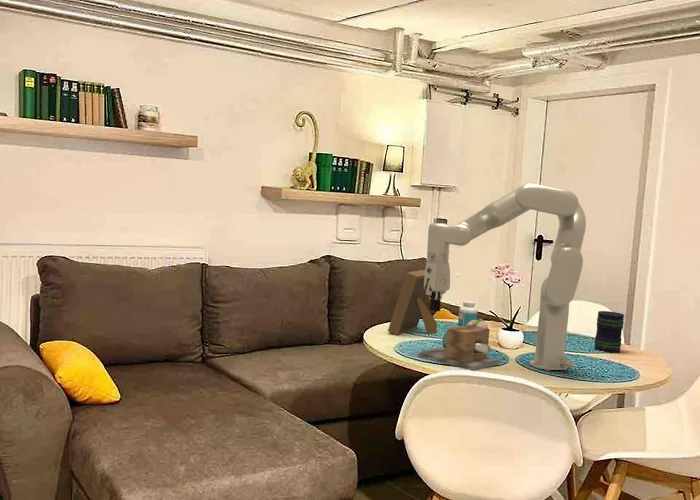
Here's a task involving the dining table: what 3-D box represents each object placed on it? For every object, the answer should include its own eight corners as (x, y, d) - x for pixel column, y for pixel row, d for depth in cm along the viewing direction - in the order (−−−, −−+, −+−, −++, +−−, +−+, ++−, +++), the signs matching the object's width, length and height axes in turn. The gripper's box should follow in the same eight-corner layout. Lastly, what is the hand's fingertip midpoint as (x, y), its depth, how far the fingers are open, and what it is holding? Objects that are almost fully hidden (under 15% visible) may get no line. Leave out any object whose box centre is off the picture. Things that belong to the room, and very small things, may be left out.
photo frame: (387, 333, 277) (393, 270, 275) (407, 326, 296) (413, 267, 294) (422, 340, 270) (429, 275, 268) (440, 332, 290) (447, 272, 288)
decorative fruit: (468, 339, 279) (471, 314, 278) (489, 342, 275) (491, 317, 275) (461, 342, 271) (464, 317, 270) (482, 346, 267) (484, 320, 266)
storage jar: (622, 354, 272) (626, 316, 270) (595, 351, 274) (599, 313, 272) (617, 349, 281) (621, 312, 280) (592, 346, 283) (596, 310, 282)
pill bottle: (478, 334, 290) (481, 302, 289) (471, 337, 283) (474, 304, 282) (461, 331, 294) (464, 299, 292) (454, 334, 287) (457, 301, 286)
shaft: (491, 357, 234) (493, 339, 234) (482, 359, 230) (484, 341, 229) (451, 347, 245) (452, 330, 244) (441, 349, 240) (443, 332, 240)
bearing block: (498, 364, 238) (501, 330, 238) (473, 370, 226) (476, 335, 226) (443, 351, 253) (446, 319, 252) (418, 356, 241) (420, 323, 240)
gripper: (434, 260, 237) (431, 314, 238) (458, 258, 248) (455, 310, 249) (416, 258, 242) (413, 311, 243) (440, 256, 253) (438, 307, 254)
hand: (434, 310), depth 246 cm, fingers closed
